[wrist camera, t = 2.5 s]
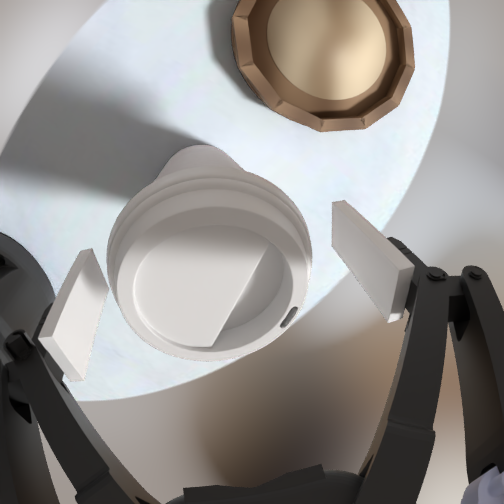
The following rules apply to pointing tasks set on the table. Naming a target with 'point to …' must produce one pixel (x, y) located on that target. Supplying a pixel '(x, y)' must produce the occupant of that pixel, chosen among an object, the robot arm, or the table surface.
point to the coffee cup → (209, 259)
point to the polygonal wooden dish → (325, 58)
